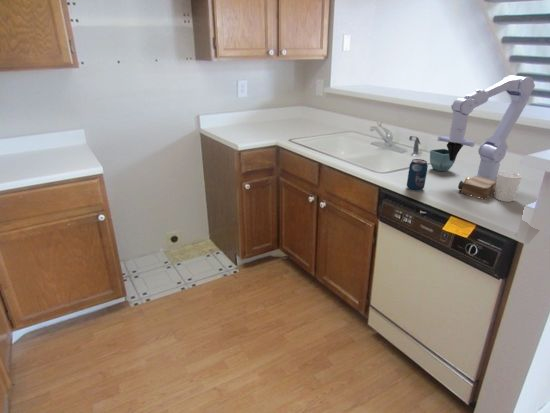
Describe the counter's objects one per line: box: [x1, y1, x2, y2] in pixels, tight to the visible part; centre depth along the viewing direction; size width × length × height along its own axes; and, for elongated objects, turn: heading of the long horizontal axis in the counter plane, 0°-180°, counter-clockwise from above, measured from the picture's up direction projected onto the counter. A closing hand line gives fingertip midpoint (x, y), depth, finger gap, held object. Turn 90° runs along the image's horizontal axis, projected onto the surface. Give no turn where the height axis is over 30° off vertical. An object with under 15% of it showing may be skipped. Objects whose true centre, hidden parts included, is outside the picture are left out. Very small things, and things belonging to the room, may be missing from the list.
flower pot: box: [429, 148, 457, 172], centre depth 181 cm, size 9×9×9 cm
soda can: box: [406, 158, 429, 192], centre depth 156 cm, size 7×7×12 cm
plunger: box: [457, 180, 465, 191], centre depth 154 cm, size 4×10×4 cm, turn 44°
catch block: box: [460, 175, 497, 200], centre depth 154 cm, size 13×9×4 cm
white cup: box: [493, 170, 523, 203], centre depth 147 cm, size 8×8×10 cm
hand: (452, 160), depth 162 cm, fingers closed
